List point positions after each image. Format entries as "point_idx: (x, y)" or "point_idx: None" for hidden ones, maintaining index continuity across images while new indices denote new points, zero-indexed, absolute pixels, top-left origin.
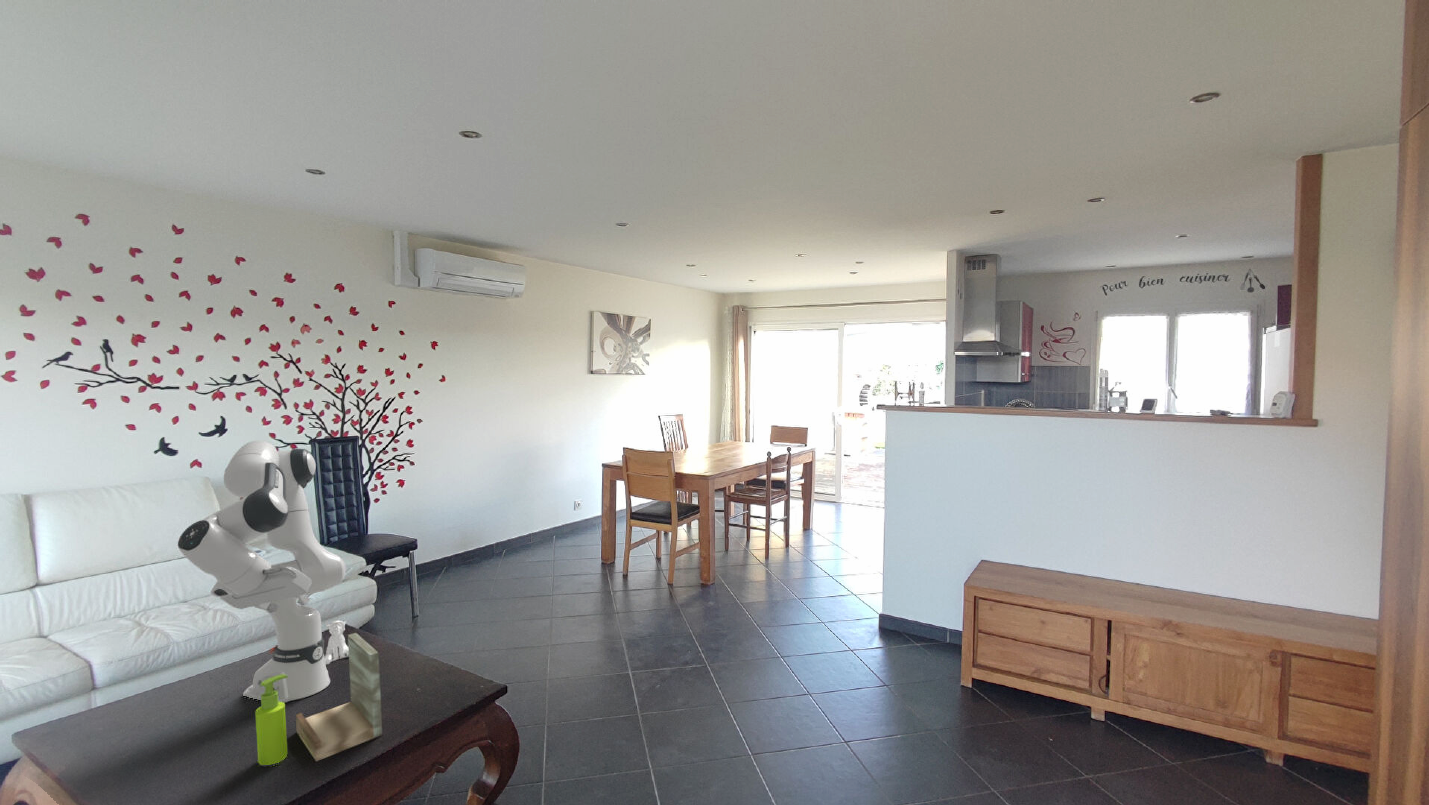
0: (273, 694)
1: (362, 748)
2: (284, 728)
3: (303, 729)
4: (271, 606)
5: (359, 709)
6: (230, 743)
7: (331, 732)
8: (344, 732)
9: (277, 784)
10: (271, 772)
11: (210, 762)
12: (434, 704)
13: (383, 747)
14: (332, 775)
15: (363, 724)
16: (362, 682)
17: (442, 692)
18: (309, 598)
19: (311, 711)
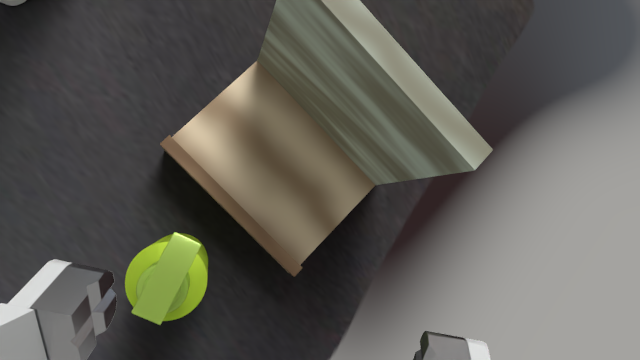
0: (181, 295)
1: (360, 223)
2: (207, 265)
3: (216, 200)
4: (79, 344)
5: (307, 110)
6: (8, 189)
7: (288, 204)
8: (320, 205)
9: (249, 349)
10: (207, 309)
11: (15, 270)
12: (434, 56)
13: (403, 221)
14: (349, 317)
15: (347, 173)
16: (357, 119)
17: (430, 3)
18: (486, 347)
19: (142, 51)
